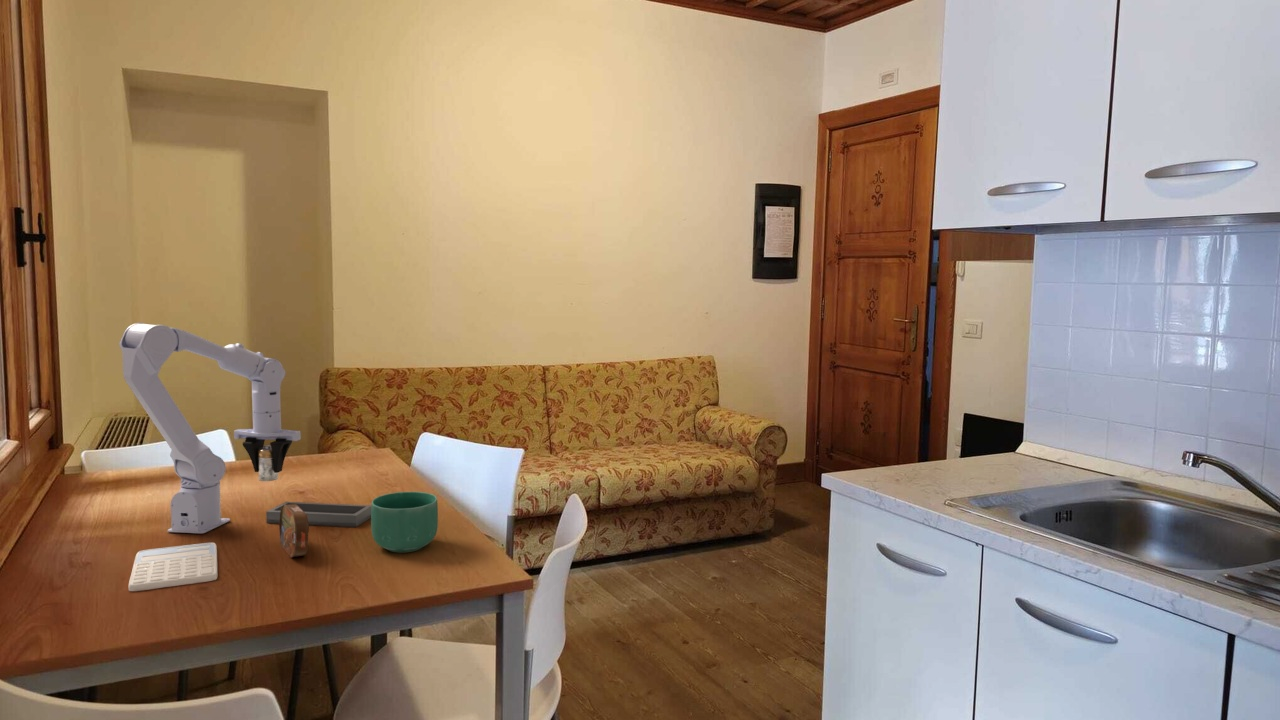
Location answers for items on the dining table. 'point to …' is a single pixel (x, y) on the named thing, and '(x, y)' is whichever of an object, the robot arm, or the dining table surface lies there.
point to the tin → (294, 530)
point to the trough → (326, 514)
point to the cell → (266, 464)
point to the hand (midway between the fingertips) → (268, 471)
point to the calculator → (174, 566)
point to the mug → (404, 520)
